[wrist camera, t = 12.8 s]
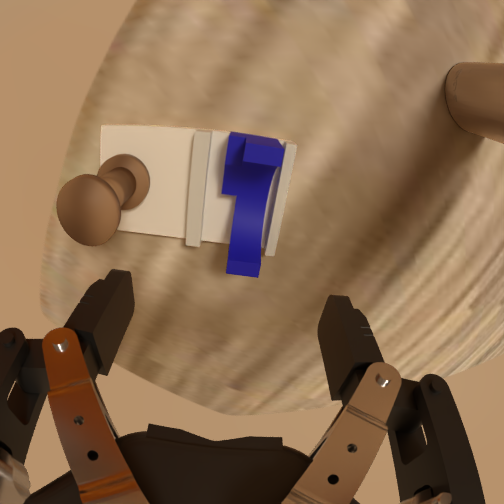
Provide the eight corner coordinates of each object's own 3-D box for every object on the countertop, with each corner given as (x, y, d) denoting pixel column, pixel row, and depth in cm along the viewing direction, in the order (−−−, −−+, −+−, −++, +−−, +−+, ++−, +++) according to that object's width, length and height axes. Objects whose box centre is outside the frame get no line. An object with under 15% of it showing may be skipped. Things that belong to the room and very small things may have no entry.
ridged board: (293, 141, 28) (297, 145, 26) (272, 244, 34) (274, 256, 32) (106, 124, 26) (94, 127, 24) (107, 223, 32) (97, 233, 30)
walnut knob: (151, 155, 27) (115, 179, 19) (149, 209, 30) (118, 250, 22) (100, 152, 27) (53, 176, 19) (101, 204, 30) (61, 241, 22)
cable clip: (231, 131, 26) (226, 139, 21) (277, 138, 27) (284, 149, 22) (215, 241, 32) (209, 271, 27) (256, 246, 33) (258, 277, 27)
